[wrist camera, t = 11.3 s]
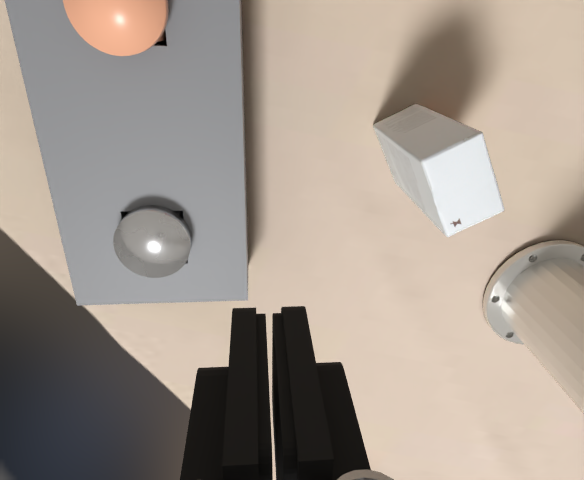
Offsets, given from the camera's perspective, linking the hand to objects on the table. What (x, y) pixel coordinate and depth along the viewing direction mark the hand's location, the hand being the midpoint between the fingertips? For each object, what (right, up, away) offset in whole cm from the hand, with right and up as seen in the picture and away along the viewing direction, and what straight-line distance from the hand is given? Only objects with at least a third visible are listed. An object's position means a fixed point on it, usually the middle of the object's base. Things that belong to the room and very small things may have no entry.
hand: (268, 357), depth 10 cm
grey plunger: (-10, +5, +28) cm, 30 cm away
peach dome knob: (-10, +19, +20) cm, 29 cm away
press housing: (-10, +13, +25) cm, 30 cm away
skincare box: (+10, +11, +28) cm, 32 cm away
